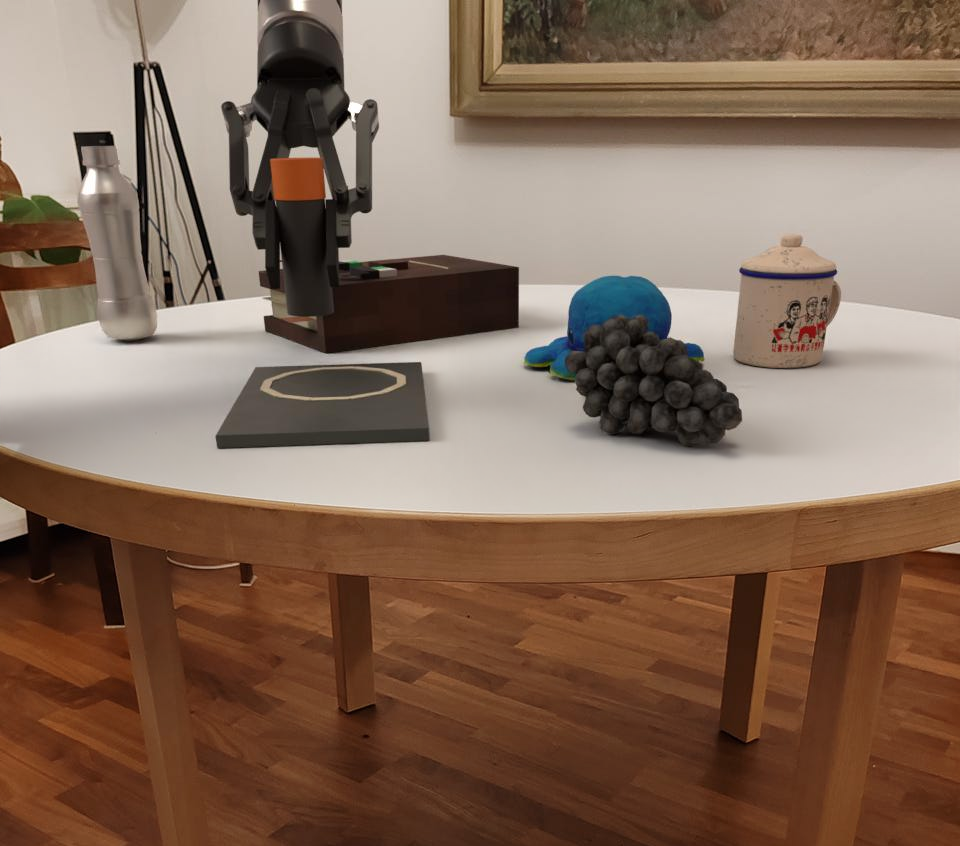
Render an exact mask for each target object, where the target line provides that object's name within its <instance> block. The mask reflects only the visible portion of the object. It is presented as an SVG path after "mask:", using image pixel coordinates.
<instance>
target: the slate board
mask: <svg viewBox="0 0 960 846" xmlns="http://www.w3.org/2000/svg"><path fill="white" fill-rule="evenodd" d="M422 365H423V364H422V361H405V362H403V361H402V362H374V363H344V364H342V363H341V364H309V365H281V366H279V365H278V366H277V365H276V366H255V367H254V370H253V371H252V372H251V374H250V376H249V378H248V380H247V381H246V383H245V384H244V386H243V388H242V389H241V392H240V393H239V395H238V397H237V398H236V399H235V402H234V403H233V405H232V407H231V409H230V410H229V412H228V413H227V415H226V417H225V419H224V420H223V422H222V423H221V425H220V428H219V429H218V431H217V432H216V434H215V443H216V449H230V448H231V449H233V448H234V449H235V448H259V447H261V448H263V447H287V446H288V447H290V446H292V447H293V446H315V445H319V446H321V445H343V444H344V445H345V444H370V443H372V444H373V443H374V444H375V443H398V442H399V443H400V442H425V441H427V442H428V441H430V427H429V426H430V425H429V417H428V408H427V399H426V391H425V383H424V374H423V373H424V372H423V366H422Z"/></svg>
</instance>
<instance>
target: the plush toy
mask: <svg viewBox="0 0 960 846" xmlns="http://www.w3.org/2000/svg"><path fill="white" fill-rule="evenodd" d="M620 314H622V315H624V316H626V317H627V318H629V319H632V318H633V317H634V315H644V316H645V317H647V318H648V323H649V328H648V329H647V331H646V332H654V333H656V334H657V335H658V337H659V340H660V341H661V340H662V339H666V338H669V335H670V331H671V329H672V328H671V327H672V318H673V317H672V310H671V306H670V303H669V301H668V298H666V296H665V295H664V294H663V292H662V291H661V290H660V289H659V288H658V286H657V285H656V284H654V282H652V280H651V281H650V280H649V279H647V278H645V277H643V276H637V275H628V276H621V275H606V276H601V277H598V278H596V279H593V280H592V281H590V282H588V283H586V284H585V285H583V286H582V287H580V288H579V289H578V290H576V292H574V294H573V296H572V297H571V300H570V303H569V306H568V314H567V315H568V317H567V318H568V320H567V327H566V328H567V329H566V336H561V337H557V338H555V339H553V340H552V341H551V342H550V343H549V344H548V345H542V346H538V347H533V348H531V349H529V350H528V351H526V353H525V355H524V358H523V364H524V365H526V366H527V367H534V368H546V367H549V373H550V375H551V376H553V377H558V378H560V379H564V380H567V381H574V379H575V377H576V375H577V374H570V373H569V372H568V370H567V369H566V366H565V357H566V356H567V355H568V354H569V353H570V352H571V351H583V352H585V351H584V338H583V336H584V333H585V331H586V330H587V329H588V328H589V327H590V326H591V325H600V326H601V327H602V326H603V323H604V322H605V321H607V320H608V319H611V318H612V317H614V316H617V315H620ZM646 332H645V333H646ZM683 343H684V344H685V345H686V347H687V356H688V357H689V358H692V359H694V360H696V361H699V362H700V363H701V362H702V363H703V362H705V356H704V351H703V349H702V348H701V346H700V345H699V344H696V343H692V342H683Z"/></svg>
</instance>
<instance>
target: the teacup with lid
mask: <svg viewBox="0 0 960 846" xmlns="http://www.w3.org/2000/svg"><path fill="white" fill-rule="evenodd" d="M803 239H804V238H803V236H802V234H799V233H798V234H796V233H787V234H786V233H785V234H783V235H781V237H780V245H775V246H773V247H770V248H768V249H766V250H765V251H764V252H762V253H760V254H759V255H757V256H755V257H751V258H747V259H746V260H744V261H743V262H742V263H741V265H740V266H741V267H740V268H739V270H738V271H739V273H740V274H741V276H740V283H739V284H740V285H739V293H738V303H737V312H736V322H735V332H734V343H733V350H732V351H733V352H732V356H733V358H734V359H735V360H736V361H738V362H739V363H742V364H745V365H748V366H749V365H750V366H755V367H761V368H772V369H797V368H806V367H811V366H815V365H817V364H819V363H820V362H821V361H822V360H823V355H824V347H825V340H826V333H827V327H828V326H829V325H830V324H831V323H832V322H833V320H834V318H835V317H836V315H837V313H838V310H839V308H840V304H841V299H842V290H841V287H840V285H839V283H838V282H837V281H836V280H835V276H836V275H838V270H837V264H836V263H835V262H834V261H832V260H830V259H826V258H824V257H823V256H820V255H819V254H818V253H817V252H815V250H813V249H812V248H810V247H808V246H803V245H802V244H803Z"/></svg>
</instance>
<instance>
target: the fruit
mask: <svg viewBox="0 0 960 846" xmlns="http://www.w3.org/2000/svg"><path fill="white" fill-rule="evenodd" d="M648 328H649V323H648V318H647V317H645V316H644V315H634V317H633V318H632V319H629V318H627V317H626V316H624V315H622V314H620V315H617V316H614V317H612V318H611V319H608V320H607V321H605V322H604V323H603V326H602V327H601V326H600V325H591V326H590V327H589V328H588V329H587V330H586V331H585V333H584V336H583V338H584V351H585V352H583V351H571V352H570V353H569V354H568V355H567V356H566V357H565V366H566V369H567V370H568V372H569V373H570V374H577V375H576V377H575V379H574V380H573V381H574V384H575V386H576V387H575V391H576V392H577V393H578V394H579V395H580V396H582V397H583V398H585V399H584V402H583V406H582V409H583V412H584V413H585V415H586V416H587V417H589V418H599V421H598V423H599V427H600V429H601V431H602V432H604V433H605V434H608V435H615V434H619V433H620V432H621V431H622V430H623V429H624V423H625V422H627V423H626V427H627V430H628V431H629V432H631V433H632V434H636V435H637V434H638V435H639V434H642V433H643V432H645V430H647V428H650V429H654V430H655V431H657V432H659V433H669V432H676V435H677V438H678V441H679V442H680V443H681V444H682V445H683V446H685V447H693V446H695V445H697V444H698V442H699V441H700V439H701V440H702V442H703V443H705V444H707V445H712V444H713V445H714V444H718V443H719V442H720V441H722V440H723V439H724V437H725V435H726V431H731V430H734V429H736V428H737V427H738V426H739V425H741V423H742V422H743V411H742V409H741V408H740V400H739V398H738V396H737V395H736V394H735V393H734V392H729V391H728V387H727V384H725V383H724V382H723V381H721V380H719V379H718V378H714V376H713V374H712V372H711V371H709V370H707V369H703V365H702V364H701V362H700V361H696V360H694V359H692V358H689V357H688V356H687V347H686V345H685V344H684V343H685V342H684V341H683V340H681V339H675V338H673V337H671V336H668V337H667V338H666V339H662V340H661V341H660V340H659V337H658V335H657V334H656V333H654V332H646V331H647V329H648ZM645 332H646V333H645Z"/></svg>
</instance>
